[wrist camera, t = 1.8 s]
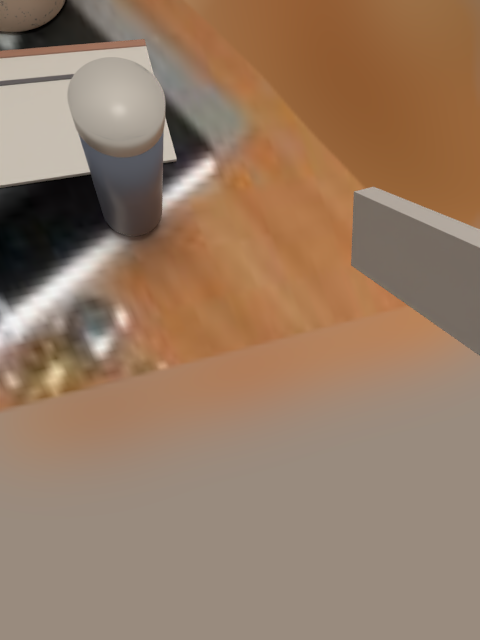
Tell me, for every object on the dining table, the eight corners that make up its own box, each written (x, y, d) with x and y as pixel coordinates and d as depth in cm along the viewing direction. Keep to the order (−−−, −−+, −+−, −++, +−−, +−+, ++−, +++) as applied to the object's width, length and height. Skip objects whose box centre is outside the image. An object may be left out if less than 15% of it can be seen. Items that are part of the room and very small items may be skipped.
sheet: (-133, 207, 27) (-137, 205, 26) (-156, 68, 28) (-161, 64, 27) (176, 161, 31) (176, 158, 31) (144, 43, 32) (144, 39, 32)
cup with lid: (110, 247, 29) (78, 148, 18) (97, 192, 30) (58, 61, 18) (168, 236, 30) (175, 135, 18) (155, 183, 31) (152, 52, 19)
